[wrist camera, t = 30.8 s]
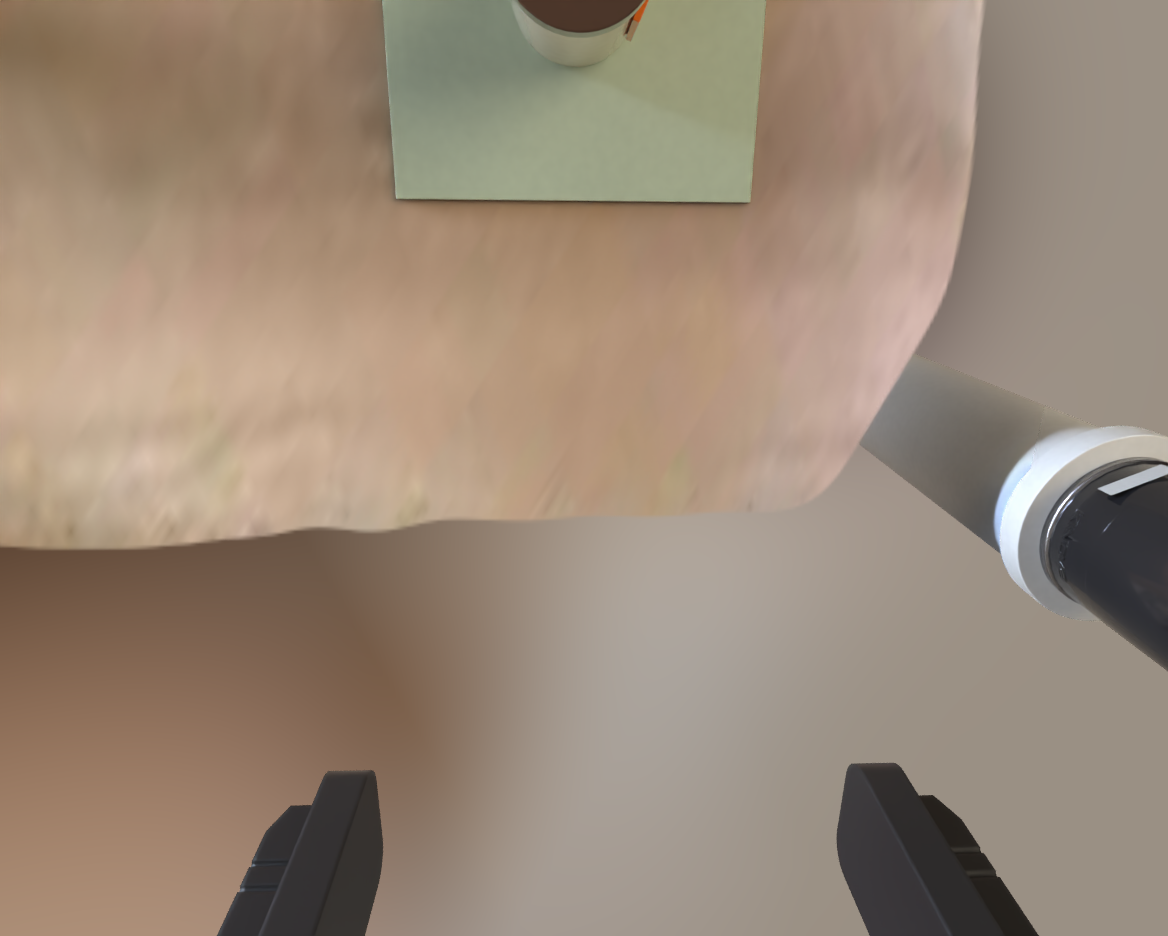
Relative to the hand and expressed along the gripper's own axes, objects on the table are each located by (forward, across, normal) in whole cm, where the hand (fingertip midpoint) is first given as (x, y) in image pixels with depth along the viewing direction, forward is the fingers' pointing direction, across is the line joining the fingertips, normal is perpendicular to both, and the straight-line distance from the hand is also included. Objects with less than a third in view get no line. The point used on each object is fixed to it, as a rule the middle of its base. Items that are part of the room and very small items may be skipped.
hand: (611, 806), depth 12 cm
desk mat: (+30, 0, -19) cm, 36 cm away
